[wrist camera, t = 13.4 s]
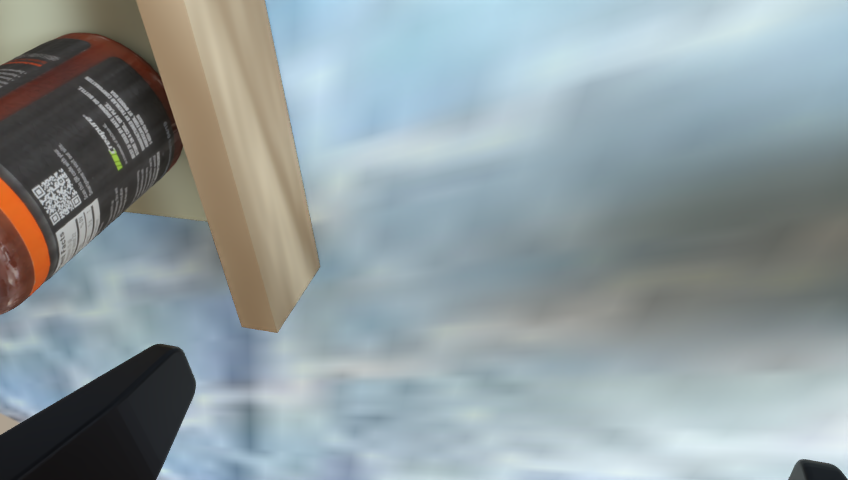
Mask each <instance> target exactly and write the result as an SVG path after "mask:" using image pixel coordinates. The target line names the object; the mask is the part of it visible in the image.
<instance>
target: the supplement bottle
mask: <svg viewBox="0 0 848 480" xmlns="http://www.w3.org/2000/svg"><path fill="white" fill-rule="evenodd" d="M182 148H183V144H182V141H181V138H180V135H179V131H178V128H177V125H176V122H175V119H174V116H173V113H172V110H171V107H170V104H169V101H168V97H167V94H166V91H165V88H164V85H163V82H162V79H161V77H160V75H159V74H158V73H157V72H156V71H155V70H154V69H153V68H152V66H151V65H149V64H148V63H147V62H146V61H145V60H144V59H143V58H142V57H140V56H139V55H138V54H136V53H135V52H133V51H132V50H131V49H129V48H127V47H125V46H124V45H122V44H120V43H119V42H116V41H114V40H112V39H110V38H107V37H105V36H102V35H99V34H91V33H70V34H65V35H63V36H60V37H58V38H56V39H54V40H51V41H48V42H46V43H43V44H41V45H39V46H37V47H35V48H33V49H31V50H29V51H27V52H25V53H24V54H22V55H20V56H17V57H15V58H14V59H12V60H10V61H8V62H6V63H4V64H2V65H0V314H3V313H6V312H8V311H10V310H12V309H13V308H15V307H17V306H18V305H20V304H21V303H22V302H23V301H24V300H26V299H27V298H28V297H29V296H30V295H31V294H32V293H33V292H35V291H36V290H37V289H38V288H39V287H40V286H41V285H42V284H43V283H44V282H45V281H47V280H48V279H49V278H51V277H52V276H53V275H54V274H55V273H56V272H57V271H58V270H59V269H60V268H62V267H63V266H64V265H65V264H66V263H67V262H68V261H69V260H71V259H72V258H73V257H74V256H75V255H76V254H77V253H78V252H79V251H80V250H82V249H83V248H84V247H85V246H86V245H87V244H88V243H89V242H91V241H92V240H93V239H94V238H95V237H96V236H97V235H98V234H100V233H101V232H102V231H103V230H104V229H105V228H106V227H107V226H108V225H109V224H110V223H112V222H113V221H114V220H115V219H116V218H117V217H119V216H120V215H121V214H122V213H123V212H124V211H125V210H126V209H127V208H129V207H130V206H131V205H132V204H133V203H134V202H135V201H136V200H137V199H139V198H140V197H141V196H142V195H143V194H144V193H146V192H147V191H148V190H149V189H150V188H151V187H152V186H153V185H155V184H156V183H157V182H158V181H159V180H160V179H161V178H162V177H163V176H164V175H165V174H166V173H167V172H168V171H169V170H170V169H171V168H172V167H173V166H174V165H175V164H176V162H177V160H178V158H179V157H180V155H181V151H182Z"/></svg>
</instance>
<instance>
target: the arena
mask: <svg viewBox="0 0 848 480" xmlns="http://www.w3.org/2000/svg"><path fill="white" fill-rule="evenodd" d="M70 33H91V34H99V35H102V36H105V37H107V38H110V39H112V40H114V41H116V42H119V43H120V44H122V45H124V46H125V47H127V48H129V49H131V50H132V51H133V52H135V53H136V54H138V55H139V56H140V57H142V58H143V59H144V60H145V61H146V62H147V63H148V64H149V65H151V66H152V68H153V69H154V70H155V71H156V72H157V73H158V74H159V75H160V77H161V79H162V82H163V85H164V88H165V91H166V94H167V97H168V101H169V104H170V107H171V110H172V113H173V116H174V119H175V122H176V125H177V128H178V131H179V135H180V138H181V141H182V144H183V148H182V151H181V155H180V157H179V158H178V160H177V162H176V164H175V165H174V166H173V167H172V168H171V169H170V170H169V171H168V172H167V173H166V174H165V175H164V176H163V177H162V178H161V179H160V180H159V181H158V182H157V183H156V184H155V185H153V186H152V187H151V188H150V189H149V190H148V191H147V192H146V193H144V194H143V195H142V196H141V197H140V198H139V199H137V200H136V201H135V202H134V203H133V204H132V205H131V206H130V207H129V208H127V209H126V210H125V211H124V212H132V213H140V214H149V215H157V216H165V217H174V218H182V219H190V220H198V221H207V222H208V224H209V227H210V230H211V233H212V236H213V239H214V243H215V246H216V249H217V252H218V255H219V258H220V261H221V264H222V267H223V270H224V273H225V276H226V280H227V283H228V286H229V289H230V292H231V295H232V298H233V301H234V304H235V307H236V310H237V314H238V317H239V320H240V323H241V326H242V327H245V328H251V329H257V330H263V331H269V332H275V333H278V331H279V330H280V328H281V327H282V325H283V324H284V322H285V320H286V319H287V317H288V316H289V314H290V313H291V311H292V310H293V308H294V307H295V305H296V303H297V302H298V300H299V299H300V297H301V296H302V294H303V293H304V291H305V290H306V288H307V286H308V285H309V283H310V282H311V280H312V279H313V277H314V276H315V274H316V272H317V271H318V269H319V268H320V263H319V258H318V254H317V249H316V244H315V239H314V234H313V230H312V225H311V220H310V215H309V210H308V206H307V201H306V196H305V191H304V186H303V182H302V177H301V172H300V167H299V162H298V158H297V153H296V148H295V143H294V138H293V134H292V129H291V124H290V119H289V114H288V110H287V105H286V100H285V95H284V90H283V86H282V81H281V76H280V71H279V66H278V62H277V57H276V52H275V47H274V42H273V38H272V33H271V28H270V23H269V18H268V14H267V9H266V4H265V0H0V65H2V64H4V63H6V62H8V61H10V60H12V59H14V58H15V57H17V56H20V55H22V54H24V53H25V52H27V51H29V50H31V49H33V48H35V47H37V46H39V45H41V44H43V43H46V42H48V41H51V40H54V39H56V38H58V37H60V36H63V35H65V34H70Z"/></svg>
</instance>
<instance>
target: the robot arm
mask: <svg viewBox="0 0 848 480" xmlns="http://www.w3.org/2000/svg"><path fill="white" fill-rule="evenodd" d="M195 389H196V381H195V378H194V375H193V373H192V371H191V368H190V366H189V363H188V361H187V358H186V356H185V353H184V352H183V350H182V349H181V348H179V347H176V346H170V345H165V344H156V345H153V346H151V347H149V348H148V349H146V350H144V351H142V352H141V353H139V354H137V355H136V356H134V357H132V358H131V359H129V360H127V361H125V362H124V363H122V364H120V365H119V366H117V367H115V368H114V369H112V370H110V371H108V372H107V373H105V374H103V375H102V376H100V377H98V378H97V379H95V380H93V381H91V382H90V383H88V384H86V385H85V386H83V387H81V388H80V389H78V390H76V391H74V392H73V393H71V394H69V395H68V396H66V397H64V398H63V399H61V400H59V401H57V402H56V403H54V404H52V405H51V406H49V407H47V408H46V409H44V410H42V411H40V412H39V413H37V414H35V415H34V416H32V417H30V418H29V419H27V420H25V421H23V422H22V423H20V424H18V425H17V426H15V427H13V428H12V429H10V430H8V431H7V432H5V433H3V434H1V435H0V480H156V479H157V477H158V475H159V473H160V471H161V469H162V466H163V464H164V462H165V460H166V457H167V455H168V453H169V451H170V448H171V446H172V444H173V442H174V439H175V437H176V435H177V433H178V430H179V428H180V426H181V424H182V421H183V419H184V417H185V415H186V412H187V410H188V408H189V405H190V403H191V401H192V399H193V396H194V393H195ZM788 480H848V479H847V478H846V477H845V475H844V474H843V473H842V471H841V470H840V469H839V468H837V467H836V466H834V465H832V464H829V463H824V462H818V461H812V460H807V459H801V460H799V461H798V462H797V463H796V464H795V466H794V468H793V471H792V473H791V475H790V477H789V479H788Z"/></svg>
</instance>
